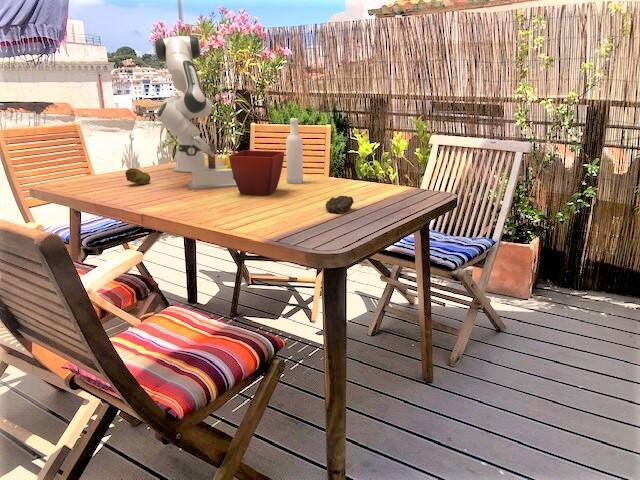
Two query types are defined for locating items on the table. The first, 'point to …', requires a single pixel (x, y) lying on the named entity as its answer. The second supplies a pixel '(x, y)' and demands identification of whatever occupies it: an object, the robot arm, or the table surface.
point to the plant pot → (257, 171)
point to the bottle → (294, 154)
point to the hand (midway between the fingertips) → (212, 155)
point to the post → (211, 159)
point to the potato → (137, 176)
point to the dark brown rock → (339, 204)
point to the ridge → (212, 179)
